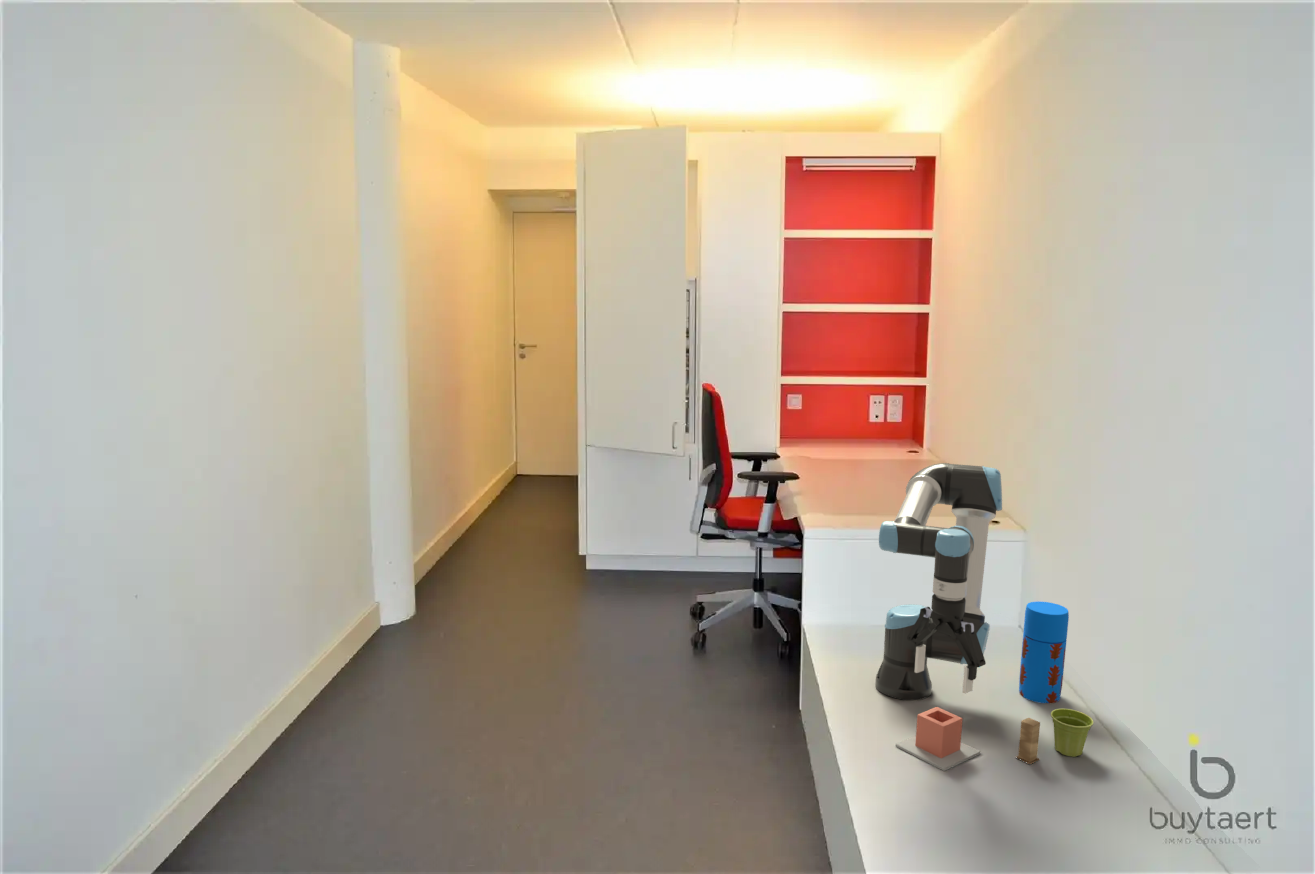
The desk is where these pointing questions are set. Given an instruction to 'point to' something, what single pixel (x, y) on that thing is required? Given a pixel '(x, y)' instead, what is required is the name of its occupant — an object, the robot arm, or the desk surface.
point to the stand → (1029, 740)
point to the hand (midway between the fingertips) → (942, 681)
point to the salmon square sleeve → (938, 732)
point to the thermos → (1043, 652)
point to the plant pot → (1070, 731)
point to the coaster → (941, 763)
